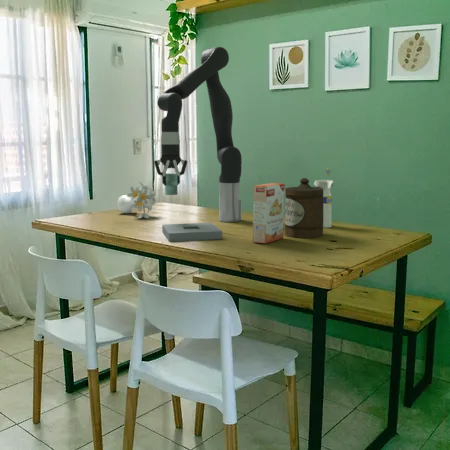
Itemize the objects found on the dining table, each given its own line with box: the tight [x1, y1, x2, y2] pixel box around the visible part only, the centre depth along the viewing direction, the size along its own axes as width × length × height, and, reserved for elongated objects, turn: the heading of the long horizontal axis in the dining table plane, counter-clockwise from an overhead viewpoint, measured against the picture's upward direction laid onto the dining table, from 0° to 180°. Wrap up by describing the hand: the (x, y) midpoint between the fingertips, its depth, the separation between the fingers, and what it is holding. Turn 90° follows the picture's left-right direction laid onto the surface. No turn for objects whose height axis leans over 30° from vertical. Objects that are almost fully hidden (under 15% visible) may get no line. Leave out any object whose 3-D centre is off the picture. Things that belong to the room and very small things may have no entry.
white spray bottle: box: [313, 167, 334, 229], centre depth 234 cm, size 8×9×25 cm
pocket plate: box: [161, 222, 223, 242], centre depth 215 cm, size 20×20×3 cm
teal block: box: [164, 172, 178, 196], centre depth 229 cm, size 4×4×8 cm
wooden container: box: [284, 177, 324, 239], centre depth 215 cm, size 15×15×22 cm
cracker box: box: [252, 182, 286, 245], centre depth 204 cm, size 14×6×21 cm, turn 147°
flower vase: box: [116, 180, 157, 219], centre depth 266 cm, size 13×18×25 cm
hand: (171, 185), depth 229 cm, fingers closed on teal block, 4 cm apart
